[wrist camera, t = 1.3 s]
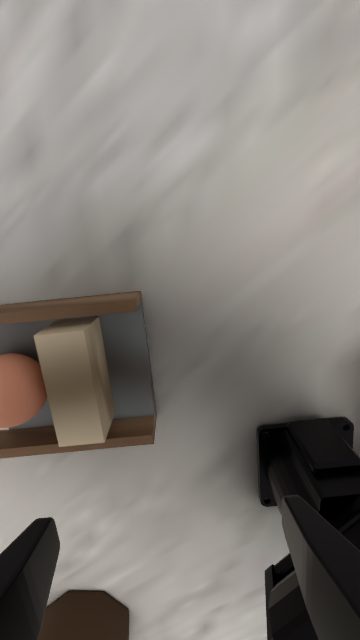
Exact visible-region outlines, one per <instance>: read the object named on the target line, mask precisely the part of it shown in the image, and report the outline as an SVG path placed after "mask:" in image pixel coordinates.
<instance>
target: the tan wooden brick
mask: <svg viewBox="0 0 360 640" xmlns="http://www.w3.org/2000/svg"><path fill="white" fill-rule="evenodd" d="M34 340H35V345H36V349H37V353H38V358H39V362H40V366H41V371H42V375H43V379H44V384H45V388H46V392H47V397H48V401H49V405H50V410H51V414H52V418H53V423H54V427H55V432H56V436H57V440H58V445H59V447H65V446H75V445H85V444H96V443H105V440H106V437H107V434H108V431H109V429H110V426H111V423H112V420H113V417H114V414H115V409H114V403H113V397H112V391H111V385H110V379H109V373H108V368H107V362H106V356H105V350H104V344H103V338H102V332H101V326H100V320H99V316H97V317H87V318H76V319H66V320H57V321H55V322H54V323H52V324H51V325H49V326H47V327H46V328H44V329H43V330H41V331H40V332H38V333H37V334H35V335H34Z"/></svg>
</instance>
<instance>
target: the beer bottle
mask: <svg viewBox="0 0 360 640" xmlns="http://www.w3.org/2000/svg"><path fill="white" fill-rule="evenodd" d="M37 640H129V613H128V609H127V608H126V607H124V606H123V605H122V604H120V603H119V602H117V601H116V600H115V599H113V598H112V597H111V596H109V595H108V594H107V593H105V592H104V591H69V592H67V593H66V594H65V595H63V596H62V597H61V598H59V599H58V600H57V601H56V602H54V603H53V604H52V605H50V606H49V607H48V608H47V609H46V610H45V614H44V618H43V622H42V626H41V629H40V633H39V636H38V639H37Z"/></svg>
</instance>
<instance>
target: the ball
mask: <svg viewBox="0 0 360 640" xmlns="http://www.w3.org/2000/svg"><path fill="white" fill-rule="evenodd" d="M46 399H47V392H46V388H45V384H44V379H43V375H42V371H41V366H40V364H39V363H38V362H37V361H35V360H34V359H32V358H30V357H28V356H26V355H22V354H16V353H8V354H1V355H0V428H10V427H14V426H18V425H20V424H23V423H25V422H27V421H28V420H30V419H31V418H33V417H34V416H35V415H36V414H37V413H38V412H39V411H40V410H41V408H42V407H43V405H44V404H45V402H46Z"/></svg>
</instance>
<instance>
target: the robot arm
mask: <svg viewBox="0 0 360 640" xmlns="http://www.w3.org/2000/svg"><path fill="white" fill-rule="evenodd" d="M346 424H347V425H346ZM344 425H346V426H345V427H343V426H344ZM353 431H354V426H353V423H352V422H351V421H350V420H349V419H347V418H336V419H319V420H308V421H298V422H290V423H283V424H273V425H263V426H260V427H259V428H258V429H257V456H258V483H259V499H260V502H261V504H262V505H263V506H266V507H269V506H278V508H279V510H280V513H281V515H282V525H283V530H284V534H285V537H286V541H287V544H288V548H289V551H290V553H289V554H288V555H287V556H286V557H284V558H283V559H282V560H281V561H279V562H278V563H277V564H276V565H271V566H270V567H269V568H267V569H266V570H265V590H266V615H267V640H360V457H359V456H358V455H357V454H356V453H355V451H354V450H353ZM264 432H267V434H265V435H262V434H263V433H264ZM266 498H268V499H266ZM59 550H60V541H59V537H58V533H57V528H56V524H55V521H54V519H53V518H51V517H48V518H38V519H36V520H35V521H33V522H32V523H31V524H30V525H29V526H28V527H27V528H26V529H25V530H24V531H23V532H22V533H21V534H20V535H19V536H18V537H17V538H16V539H15V540H14V541H13V542H12V543H11V544H10V545H9V546H8V547H7V548H6V549H5V550H4V551H3V552H2V553H1V554H0V640H37V639H38V636H39V633H40V629H41V626H42V622H43V618H44V614H45V610H46V605H47V601H48V597H49V593H50V589H51V584H52V580H53V576H54V572H55V568H56V563H57V559H58V555H59Z"/></svg>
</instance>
